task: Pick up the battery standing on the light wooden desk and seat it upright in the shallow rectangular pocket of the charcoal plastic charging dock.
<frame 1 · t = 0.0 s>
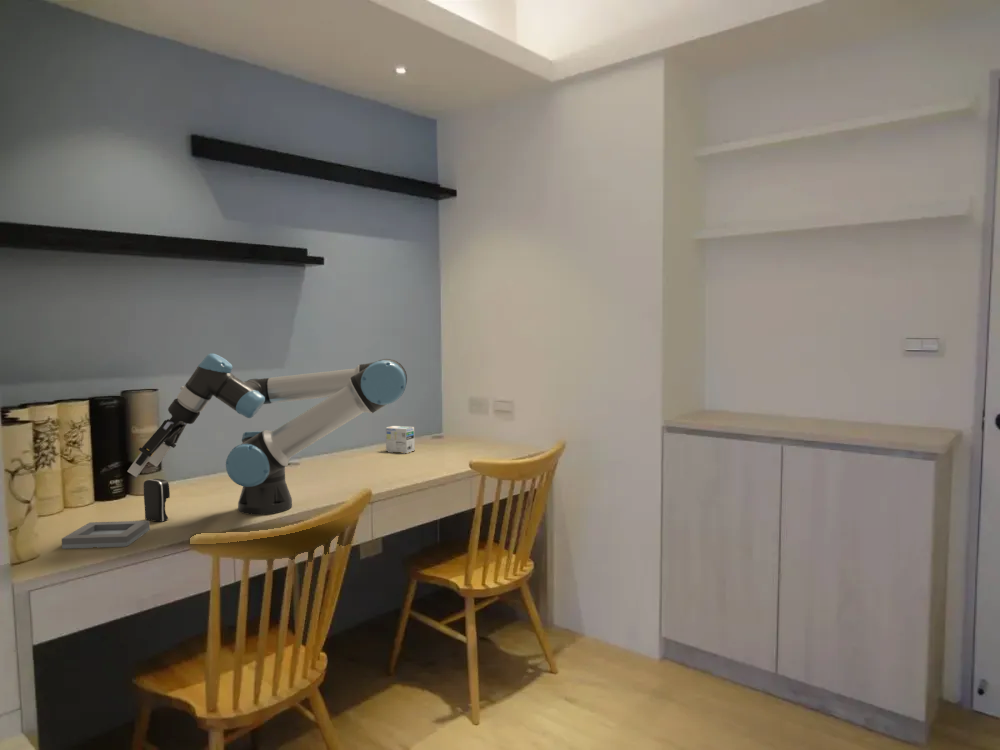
hand: (142, 468, 188), 15 cm above the table, tool tilted 35°, fingers open, 13 cm apart
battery: (158, 520, 194), on the table
dock: (107, 538, 176), on the table
light bulb box: (400, 452, 297), on the table
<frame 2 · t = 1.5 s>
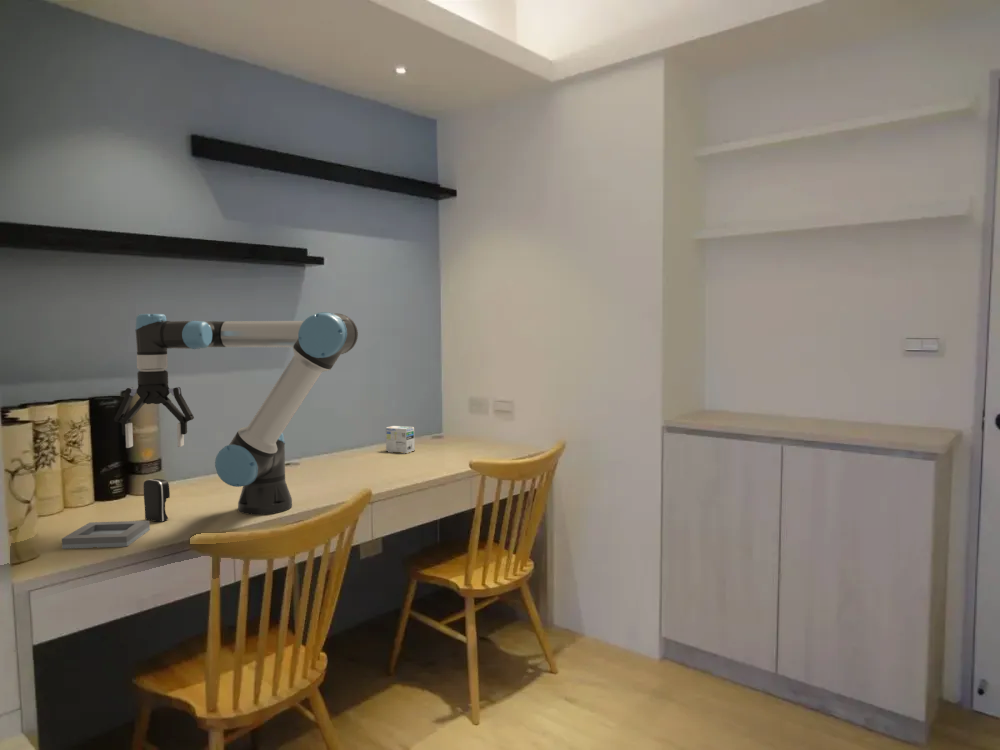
hand: (155, 446, 192), 21 cm above the table, tool pointing down, fingers open, 13 cm apart
nothing on the table moved.
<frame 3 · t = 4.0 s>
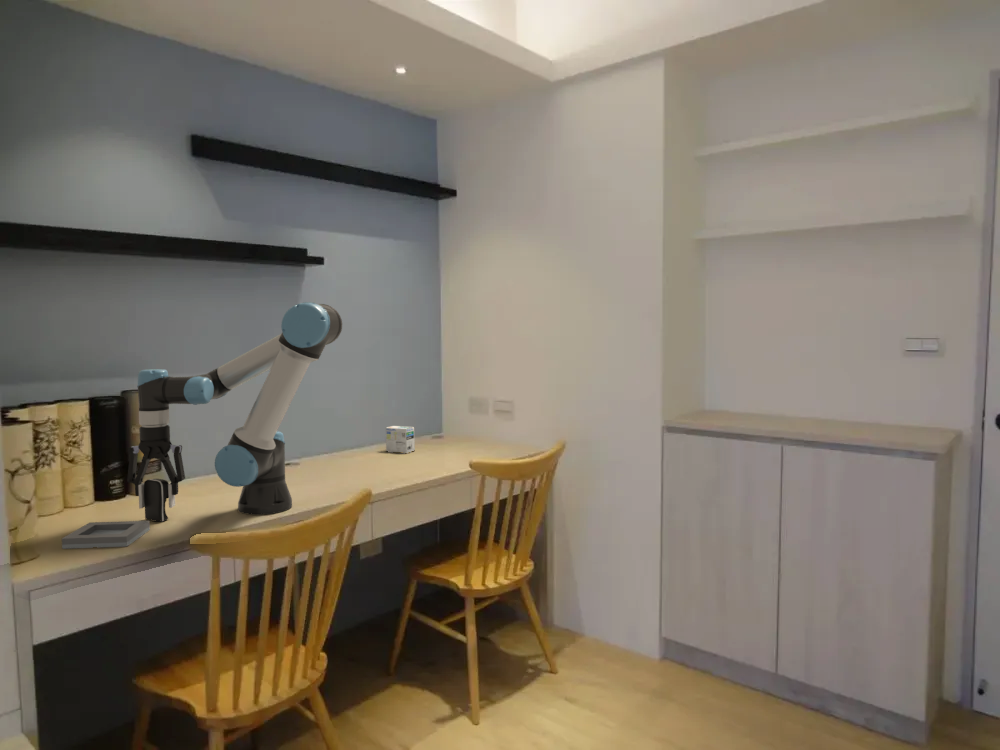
hand: (157, 506, 194), 4 cm above the table, tool pointing down, fingers closed on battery, 7 cm apart
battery: (158, 520, 194), on the table, touching gripper
everything else where it was.
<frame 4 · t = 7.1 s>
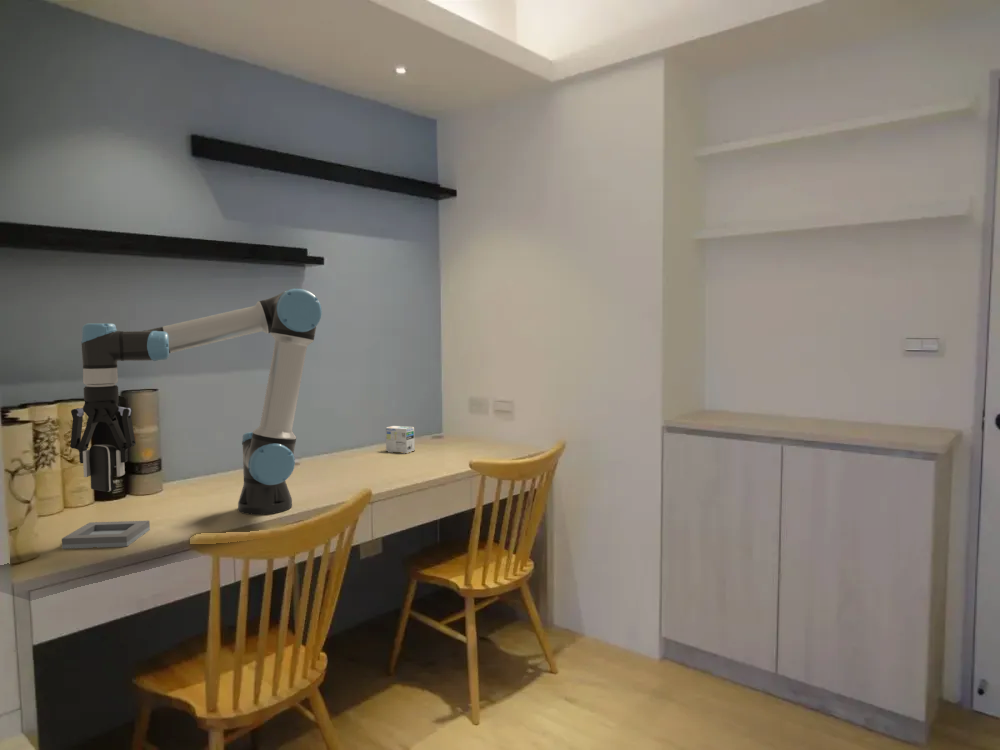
hand: (104, 475, 175), 16 cm above the table, tool pointing down, fingers closed on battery, 7 cm apart
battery: (105, 490, 175), point 12 cm above the table, touching gripper
everything else where it was.
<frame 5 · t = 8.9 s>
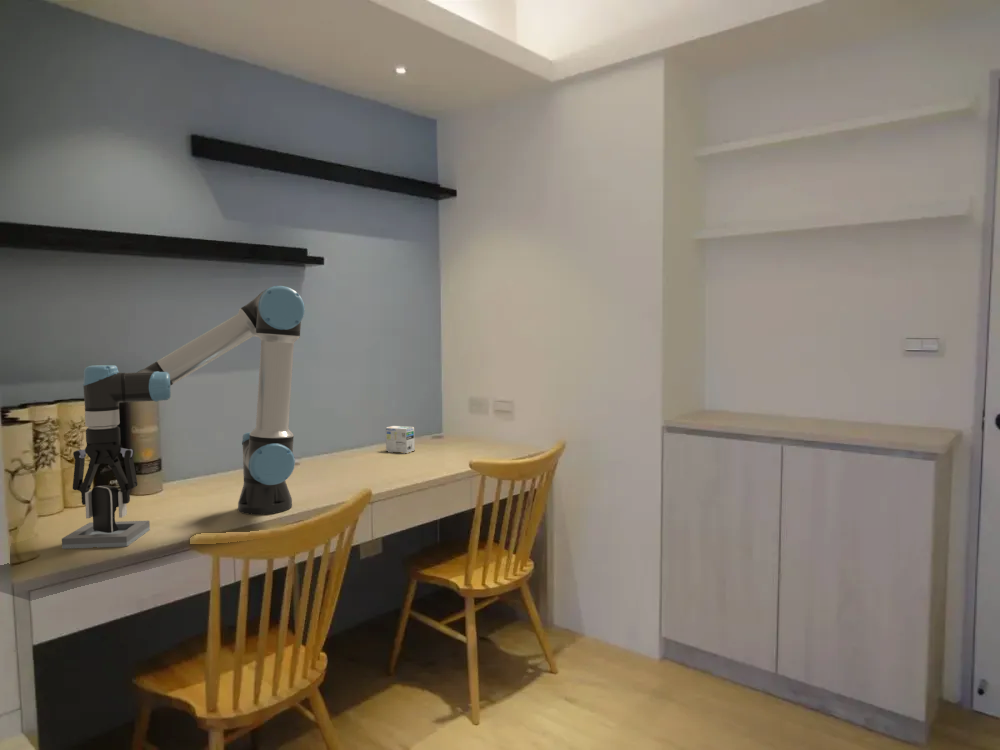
hand: (106, 516, 176), 6 cm above the table, tool pointing down, fingers closed on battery, 7 cm apart
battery: (107, 531, 176), point 2 cm above the table, touching gripper
everything else where it was.
when the fingers open (5 cm above the table, at t = 10.2 s): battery stays where it is, resting on dock.
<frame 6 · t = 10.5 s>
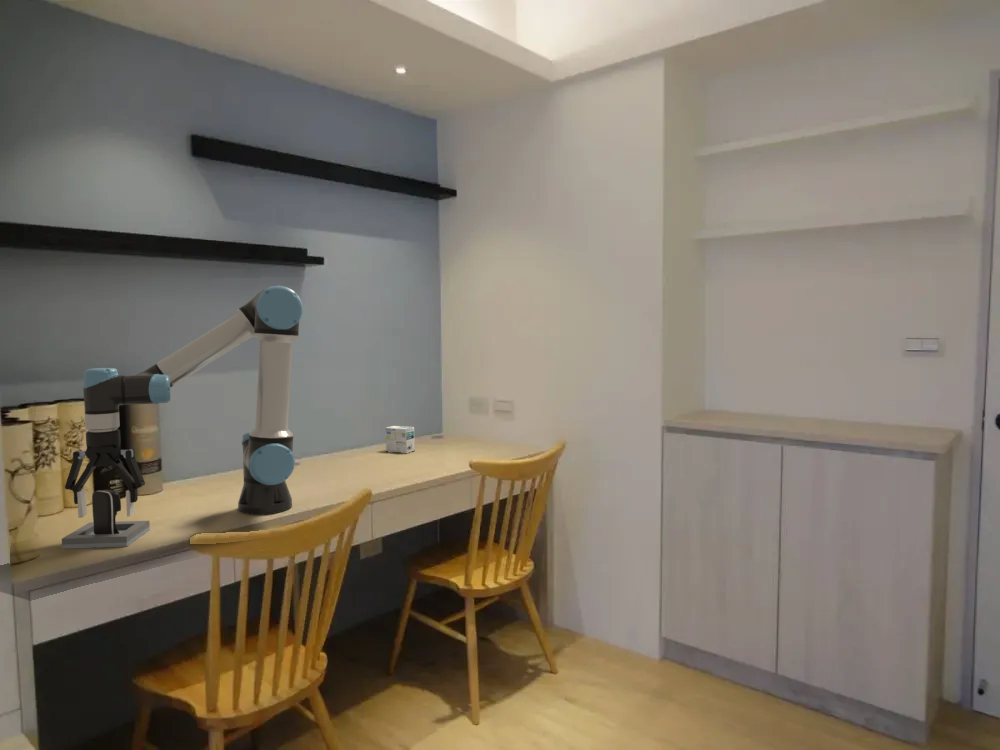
hand: (106, 515, 176), 6 cm above the table, tool pointing down, fingers open, 11 cm apart
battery: (108, 535, 176), point 1 cm above the table, touching dock
everything else where it was.
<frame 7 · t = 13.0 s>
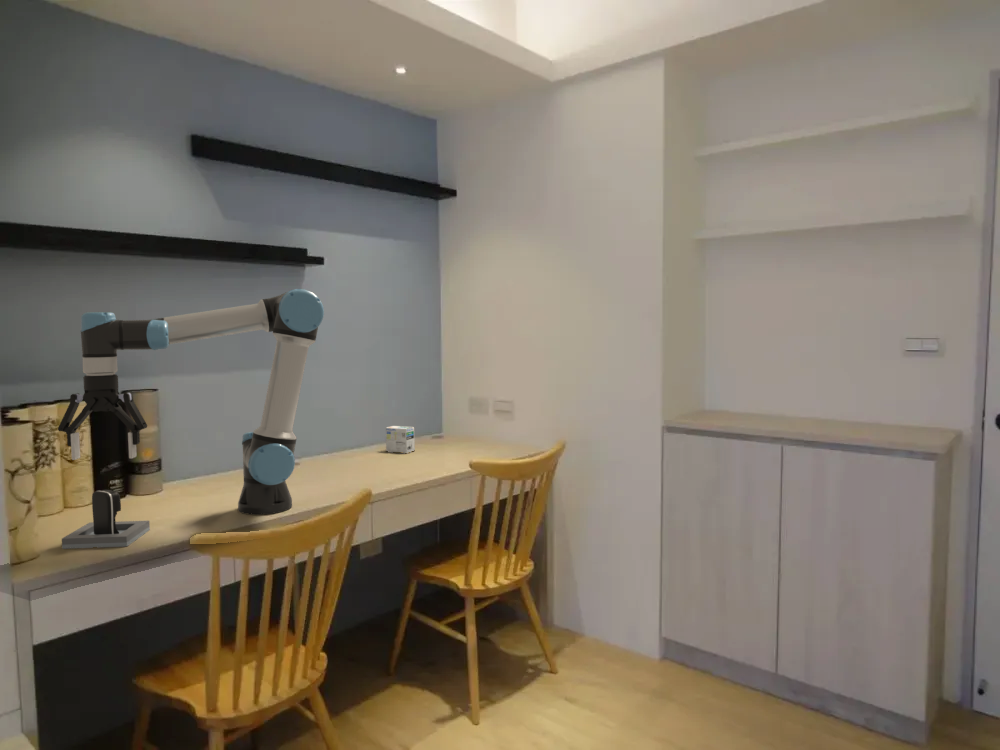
hand: (104, 458, 175), 21 cm above the table, tool pointing down, fingers open, 13 cm apart
nothing on the table moved.
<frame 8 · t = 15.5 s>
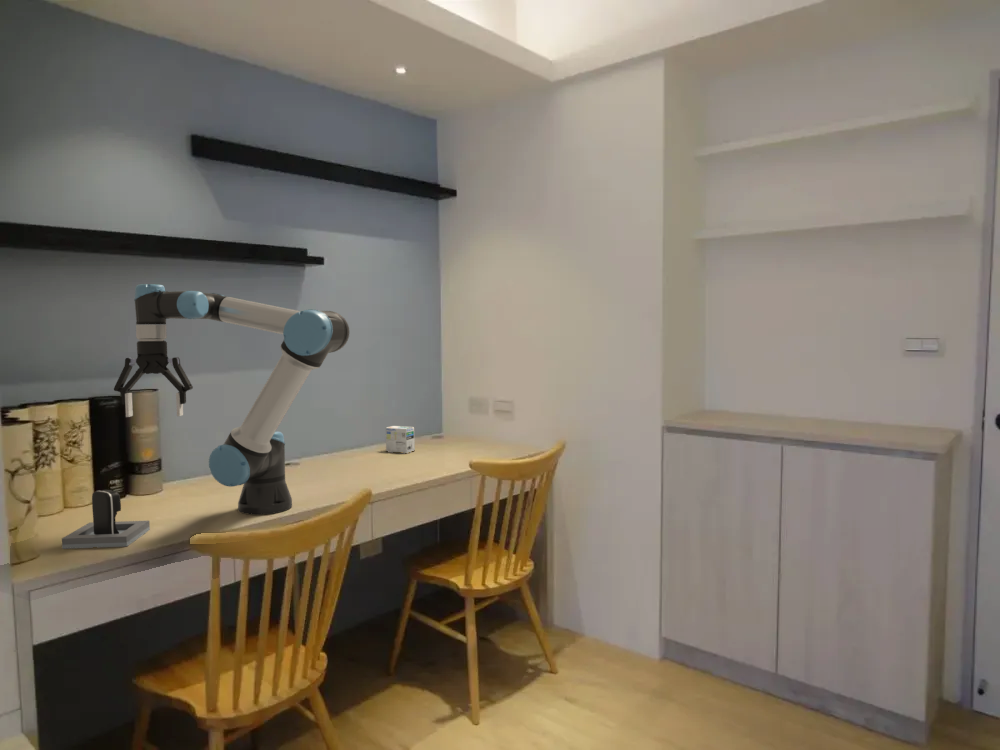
hand: (154, 416, 195), 29 cm above the table, tool pointing down, fingers open, 13 cm apart
nothing on the table moved.
at the end: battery 0.2 cm off-centre on the dock, point 0.8 cm above the dock's base; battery tilted 0°; the gripper is holding nothing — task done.
